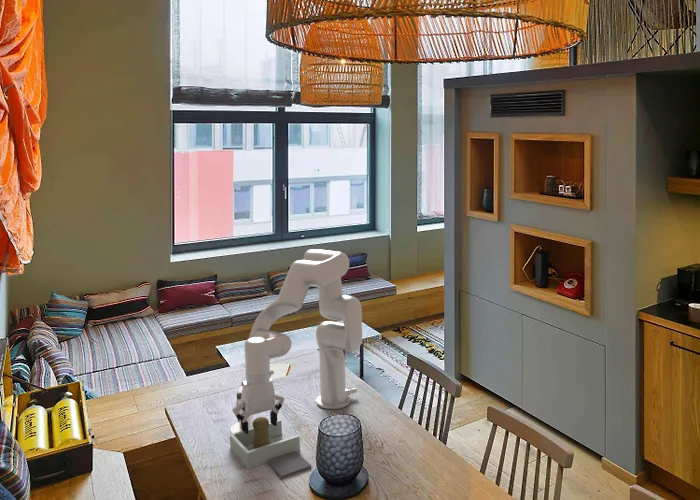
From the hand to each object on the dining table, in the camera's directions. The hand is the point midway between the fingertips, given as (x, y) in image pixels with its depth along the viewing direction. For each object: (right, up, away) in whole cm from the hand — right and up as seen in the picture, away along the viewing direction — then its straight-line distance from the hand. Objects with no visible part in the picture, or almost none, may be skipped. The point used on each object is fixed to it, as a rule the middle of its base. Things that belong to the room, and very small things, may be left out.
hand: (259, 428), depth 185 cm
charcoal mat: (+10, -9, -7) cm, 15 cm away
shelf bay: (+1, -8, +3) cm, 8 cm away
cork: (0, -8, +2) cm, 8 cm away
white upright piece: (-7, -5, +17) cm, 19 cm away
